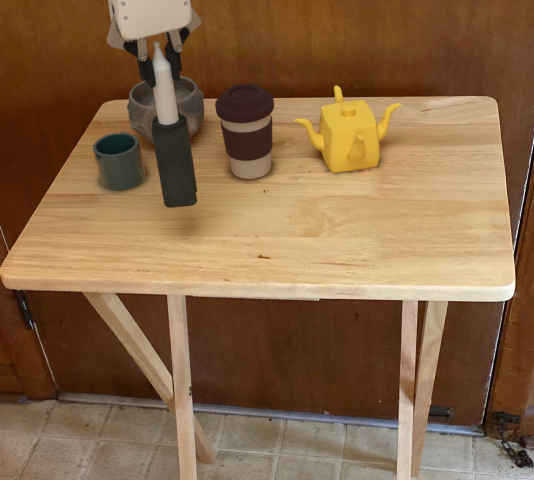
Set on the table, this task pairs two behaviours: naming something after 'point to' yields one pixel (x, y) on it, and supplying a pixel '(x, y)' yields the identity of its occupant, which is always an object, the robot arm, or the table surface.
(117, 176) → the cup
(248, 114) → the coffee cup
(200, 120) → the bowl
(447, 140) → the table surface
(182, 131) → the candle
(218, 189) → the table surface
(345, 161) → the teapot
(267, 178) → the table surface
